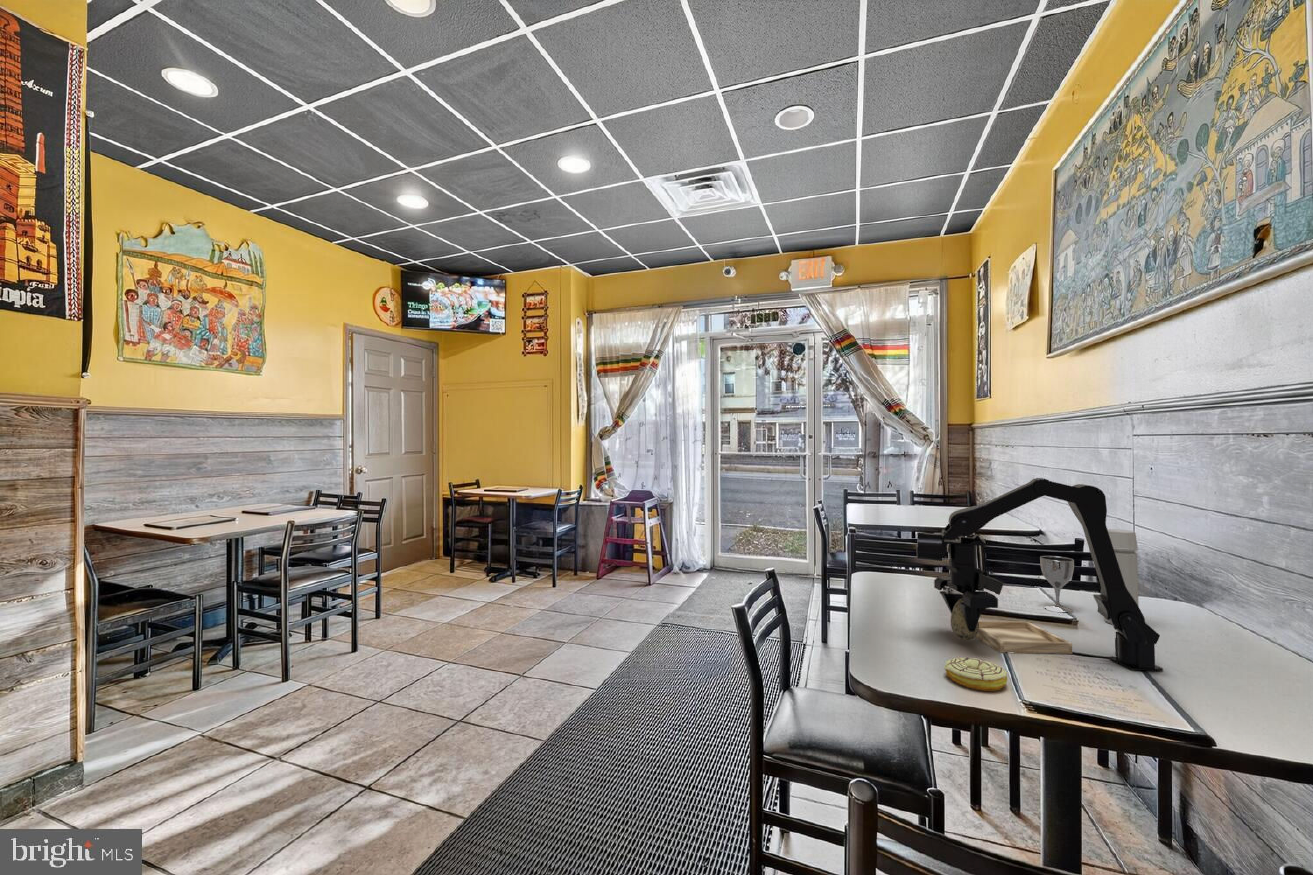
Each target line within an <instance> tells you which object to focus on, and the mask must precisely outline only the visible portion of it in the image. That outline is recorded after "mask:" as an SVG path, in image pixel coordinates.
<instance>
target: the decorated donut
mask: <svg viewBox="0 0 1313 875" xmlns="http://www.w3.org/2000/svg"><path fill="white" fill-rule="evenodd" d="M944 671H945V672H946V676H947V677H948V678H949V679H951V681H953V682H954V683H957V684H958V685H960V686H963V687H965V688H968V689H972V690H976V691H982V692H995V691H999V690H1001V689H1002V688H1003V687H1005V686H1006V684H1007V682H1008V672H1007V671H1006V669H1004V668H1003V667H1002V666H1000V665H998V664H997V663H993V662H990V661H987V660H984V659H979V658H973V657H955V658H952V659H948V660H947V661H946V662H945V664H944Z"/></svg>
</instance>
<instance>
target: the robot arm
mask: <svg viewBox="0 0 1313 875" xmlns="http://www.w3.org/2000/svg"><path fill="white" fill-rule="evenodd" d="M1042 497H1049V498H1053V499H1057V500H1060V501H1065V502H1067V504H1068V506H1069V507H1070V509H1071V512H1072V513H1073V514H1074V516H1075V517H1076V519H1077V520H1078V522H1079V523H1080V525H1081V527H1082V530H1083V534H1084V536H1085V539H1086V543H1087V546H1088V549H1089V552H1090V555H1091V559H1092V562H1093V564H1094V569H1095V571H1096V575H1097V577H1098V581H1099V584H1100V593H1099V594H1092V596H1093V599H1094V600H1095V602H1096V604H1097V613H1099V614H1100V615H1101V616H1103V619H1104V618H1105V619H1106V620H1108V621H1109V622H1110V623H1111V624H1110V623H1109V624H1110V625H1112V627H1113V629H1114V631H1115V638H1114V641H1115V643H1114V648H1115V650H1114V651H1115V654H1114V655H1115V656H1108V659H1109V660H1111V661H1112V662H1115V663H1116V664H1118V665H1120V666H1123V667H1125V668H1126V669H1129V668H1130V669H1129V670H1131V669H1133V670H1132V671H1146V672H1147V671H1151V672H1153V671H1155V672H1157V671H1158V672H1160V671H1161V672H1162V671H1164V668H1162V667H1160V666H1158V665H1157V664H1156V656H1155V655H1156V652H1155V651H1156V648H1155V645H1157V644H1158V641H1159V639H1160V633H1158V632H1157V631H1156V630H1155V629H1153V628H1152V627H1151V626H1149V624H1147V623H1146V619H1145V616H1144V614H1143V613H1142V610H1141V609H1140V606H1139V607H1138V605H1137V603H1136V601H1135V600H1134V599H1133V597H1132V596H1131V594H1130V593H1129V591H1128V590H1127V588H1126V586H1125V583H1124V580H1123V577H1122V574H1121V570H1120V567H1119V564H1118V561H1117V558H1116V555H1115V552H1114V549H1113V545H1112V542H1111V539H1110V536H1109V533H1108V530H1107V529H1108V527H1107V515H1108V514H1107V513H1108V508H1107V498H1106V494H1105V493H1104V491H1103V490H1102V489H1100V488H1098V487H1096V486H1093V485H1088V484H1083V483H1080V484H1079V483H1077V484H1074V485H1068V484H1064V483H1060V482H1056V481H1052V480H1051V481H1050V480H1049V479H1047V478H1042V477H1036V478H1033V479H1031V480H1030V481H1029V482H1027V483H1024V484H1023V485H1020V486H1018V487H1016V488H1014V489H1011V490H1009V491H1007V492H1005V493H1003V494H1001V495H999V496H997V497H995V498H993V499H990V500H988V501H987V502H985V503H980V504H978V505H973V506H969V507H965V508H962V509H957V510H955V511H953V512H951V513H950V515H949V516H948V523H947V525H946V526H945V527H944V528H943V529H942V530H941V532H940V533H933V532H932V533H928V532H923V531H917V536H916V538H917V539H916V540H917V543H916V559H917V560H918V561H919V560H920V561H922V560H923V561H935V562H937V561H938V562H942V561H943V559H945V558H948V545H949V564H946V570H949V571H950V572H949V576H937V577H936V578H935V579H934V581H933V584H934V589H936V590H938V591H939V594H940V595H941V597H942V598H943V601H944V602H945V604H946V607H947V609H948V610H949V612H950V614H952V611H953V608H954V606H955V604H956V602H957V601H958V600H959V599H961V598H963V601H964V603H960V606H961V609H962V612H963V615H964V618H965V621H966V624H967V627H968V630H969V631H970V632H974V631H975V628H976V626H977V623H978V621H980V618H981V615H982V613H983V611H985V610H987V609H998V608H999V599H998V597H996V596H995V595H998V596H1000V595H1001V592H1002V590H1003V588H1004V583H1005V582H1003V581H1000V580H998V579H996V578H993V577H991V576H990V574H989V572H988V571H985V570H982V568H979V567H978V560H977V559H978V558H977V556H978V555H977V554H978V550H977V546H978V547H982V546H983V547H985V546H986V545H987V543H986V542H985V540H983V539H981V538H980V536H979V535H978V534H975V533H977V532H978V531H979V530H981V529H983V527H985V526H986V525H988V524H989V523H990V522H991V521H992V520H994V519H996V518H998V517H999V516H1002V515H1004V514H1006V513H1009V512H1011V511H1012V510H1015V509H1018V508H1020V507H1022V506H1024V505H1026V504H1028V503H1031V502H1033V501H1035V500H1038V499H1039V498H1042ZM973 534H975V535H974V536H972V535H973ZM969 536H972V537H969ZM957 538H959V539H957ZM955 539H956V540H955ZM985 590H987V591H985ZM988 591H989V592H988ZM990 592H993V593H994V594H995V595H994V594H992V593H990ZM1105 619H1104V620H1105ZM1106 620H1105V621H1106Z"/></svg>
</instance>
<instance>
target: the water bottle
mask: <svg viewBox="0 0 1313 875" xmlns="http://www.w3.org/2000/svg"><path fill="white" fill-rule="evenodd" d="M1107 530H1108V533H1109V536H1110V539H1111V542H1112V545H1113V549H1114V552H1115V555H1116V558H1117V561H1118V564H1119V567H1120V570H1121V574H1122V577H1123V580H1124V583H1125V586H1126V588H1127V590H1128V591H1129V593H1130V594H1131V596H1132V597H1133V599H1134V600H1135V601H1136V603H1137V605H1138V607H1139V608H1140V606H1139V605H1140V604H1139V574H1138V573H1139V571H1138V568H1139V566H1138V565H1139V564H1138V553H1137V552H1138V551H1139V549H1138V541H1137V535H1136V534H1137V533H1136V532H1135V531H1133V530H1127V529H1125V530H1124V529H1114V528H1113V529H1111V528H1109V529H1108V528H1107ZM1103 619H1104V620H1105V621H1106V622H1107V623H1108V624H1110V625H1112V624H1111V623H1110V622H1109V621H1108V620H1106V619H1105V618H1104V617H1103Z"/></svg>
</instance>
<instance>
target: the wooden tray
mask: <svg viewBox="0 0 1313 875" xmlns="http://www.w3.org/2000/svg"><path fill="white" fill-rule="evenodd" d="M978 622H979V630H978V633H977V635H976V637H975V638H976V639H978V640H980V641H981V642H983V643H984V644H985V645H987V646H989V647H991V648H992V649H994V650H995V651H997V652H998V653H1000V654H1006V653H1005V652H1014V653H1013V654H1032V653H1061V654H1060V655H1073V643H1072V642H1069V641H1068V640H1065V639H1063V637H1062V638H1061V637H1059V636H1057V635H1055V634H1053V633H1051V632H1049V631H1047V630H1045V629H1043V628H1042V627H1039V626H1037V625H1036V624H1033V623H1031V622H1029V621H1016V620H1015V621H1012V620H1011V621H1010V620H1009V621H1008V620H1005V621H1003V620H978Z"/></svg>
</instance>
